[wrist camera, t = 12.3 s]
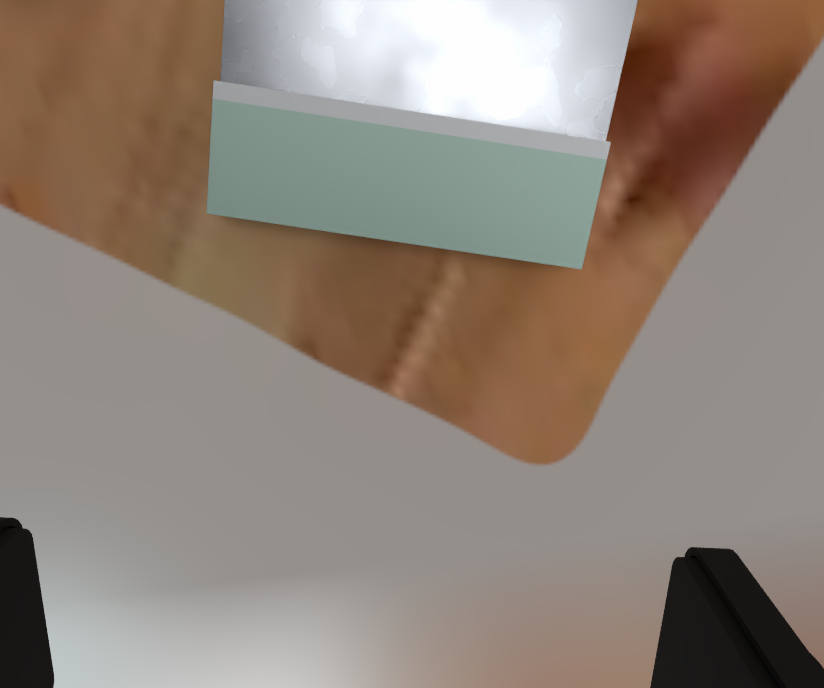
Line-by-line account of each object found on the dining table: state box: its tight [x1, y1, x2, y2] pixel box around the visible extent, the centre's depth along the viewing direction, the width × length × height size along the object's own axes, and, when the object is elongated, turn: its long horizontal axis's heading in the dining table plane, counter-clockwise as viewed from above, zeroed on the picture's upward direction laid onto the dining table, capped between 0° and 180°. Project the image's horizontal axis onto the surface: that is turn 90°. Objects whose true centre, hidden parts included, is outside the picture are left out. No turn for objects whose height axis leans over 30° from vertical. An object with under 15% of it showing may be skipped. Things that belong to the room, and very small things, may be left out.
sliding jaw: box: [207, 80, 611, 269], centre depth 25 cm, size 14×5×2 cm, turn 82°
